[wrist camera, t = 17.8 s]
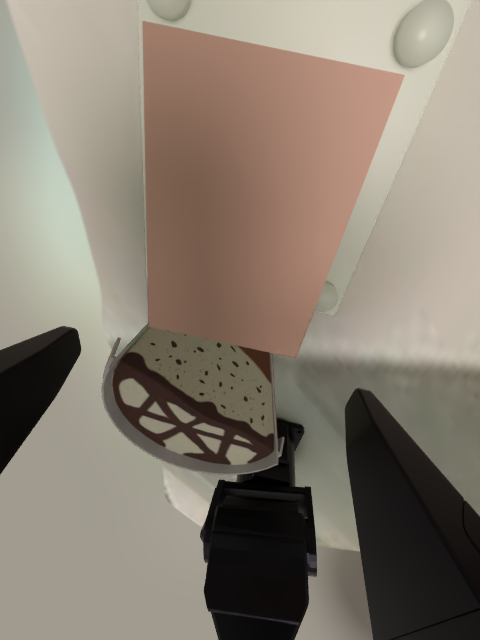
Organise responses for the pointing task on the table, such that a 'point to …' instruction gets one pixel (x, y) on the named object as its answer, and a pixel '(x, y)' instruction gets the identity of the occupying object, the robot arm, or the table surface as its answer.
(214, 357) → the food container
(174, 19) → the build plate
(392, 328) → the table surface
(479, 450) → the table surface
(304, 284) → the terracotta brick
